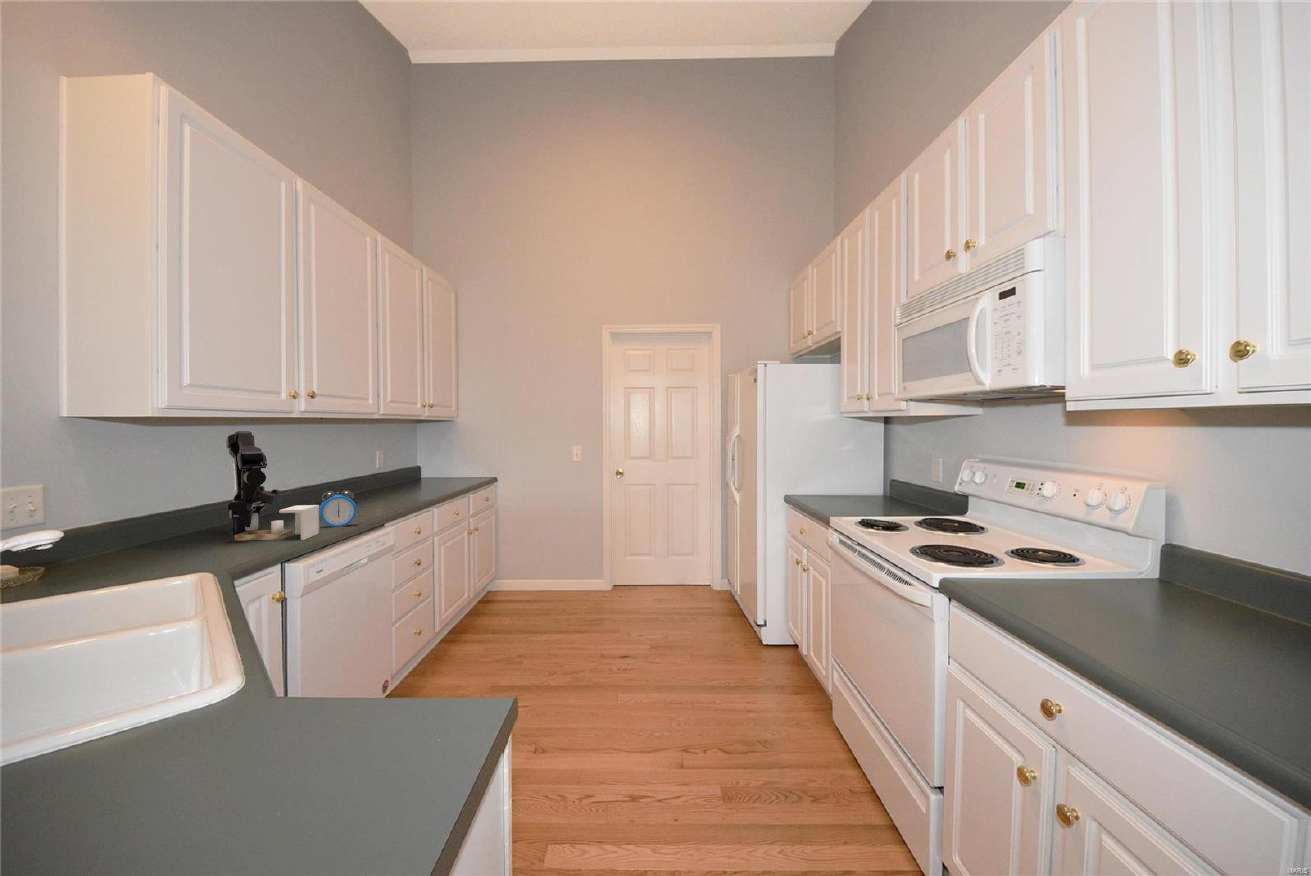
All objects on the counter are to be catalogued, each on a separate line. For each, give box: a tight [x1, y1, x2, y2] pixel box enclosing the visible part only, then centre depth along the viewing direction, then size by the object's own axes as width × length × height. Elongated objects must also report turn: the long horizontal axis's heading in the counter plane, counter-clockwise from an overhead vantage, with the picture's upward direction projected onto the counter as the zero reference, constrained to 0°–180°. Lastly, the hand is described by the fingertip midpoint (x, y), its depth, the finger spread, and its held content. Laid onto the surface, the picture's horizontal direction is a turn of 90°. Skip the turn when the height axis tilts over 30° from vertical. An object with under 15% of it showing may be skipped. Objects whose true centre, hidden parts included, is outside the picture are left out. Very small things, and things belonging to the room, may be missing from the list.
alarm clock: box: [319, 490, 358, 528], centre depth 223 cm, size 13×6×15 cm, turn 126°
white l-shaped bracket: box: [279, 504, 320, 541], centre depth 200 cm, size 8×12×12 cm, turn 10°
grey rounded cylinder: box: [245, 513, 259, 531], centre depth 197 cm, size 4×4×6 cm
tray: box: [234, 529, 294, 541], centre depth 198 cm, size 15×9×2 cm, turn 100°
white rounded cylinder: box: [270, 519, 285, 534], centre depth 198 cm, size 4×4×6 cm
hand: (251, 526), depth 197 cm, fingers closed on grey rounded cylinder, 4 cm apart
